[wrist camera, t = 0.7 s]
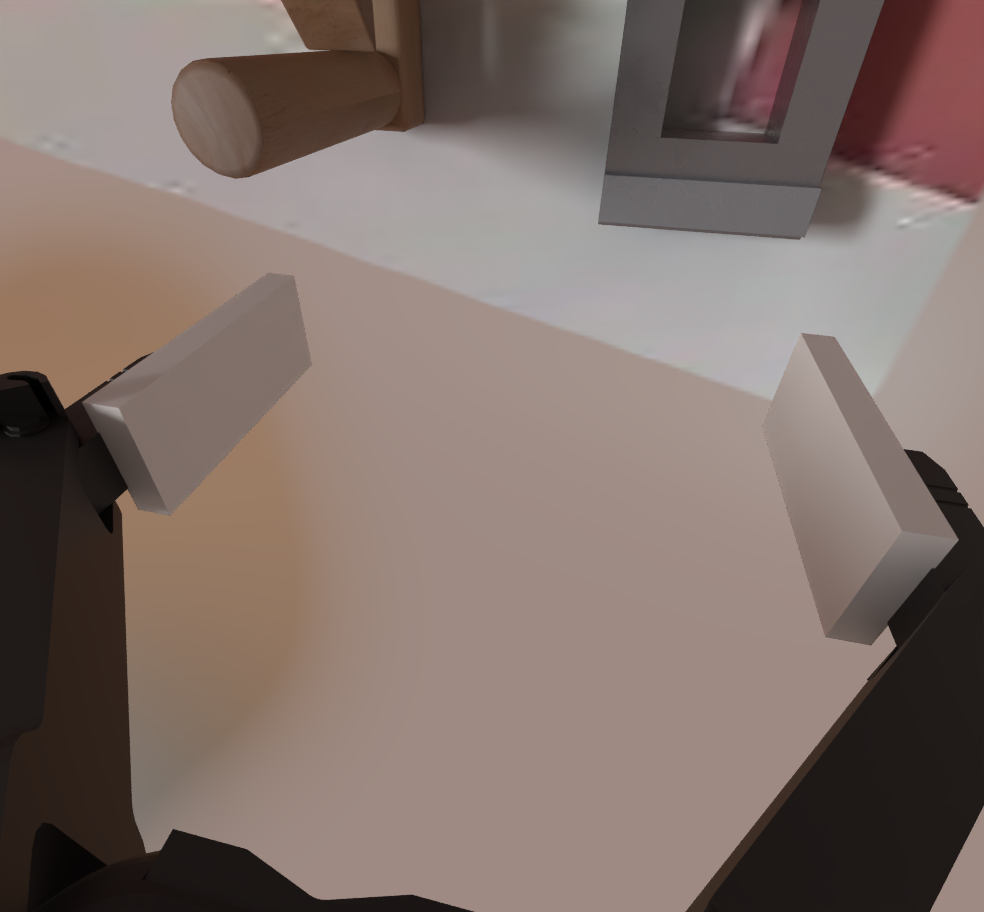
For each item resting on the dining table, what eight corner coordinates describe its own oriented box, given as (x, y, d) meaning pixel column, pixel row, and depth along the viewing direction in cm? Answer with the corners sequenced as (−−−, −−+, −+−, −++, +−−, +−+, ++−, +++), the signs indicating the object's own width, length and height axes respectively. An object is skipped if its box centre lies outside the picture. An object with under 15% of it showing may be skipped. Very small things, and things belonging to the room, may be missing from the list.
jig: (647, -138, 25) (648, -162, 22) (907, -143, 24) (949, -171, 20) (601, 209, 35) (597, 226, 31) (786, 222, 33) (802, 242, 30)
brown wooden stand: (416, -129, 27) (183, -298, 13) (427, 124, 34) (279, 189, 20) (346, -128, 28) (51, -290, 14) (370, 121, 34) (187, 182, 20)
